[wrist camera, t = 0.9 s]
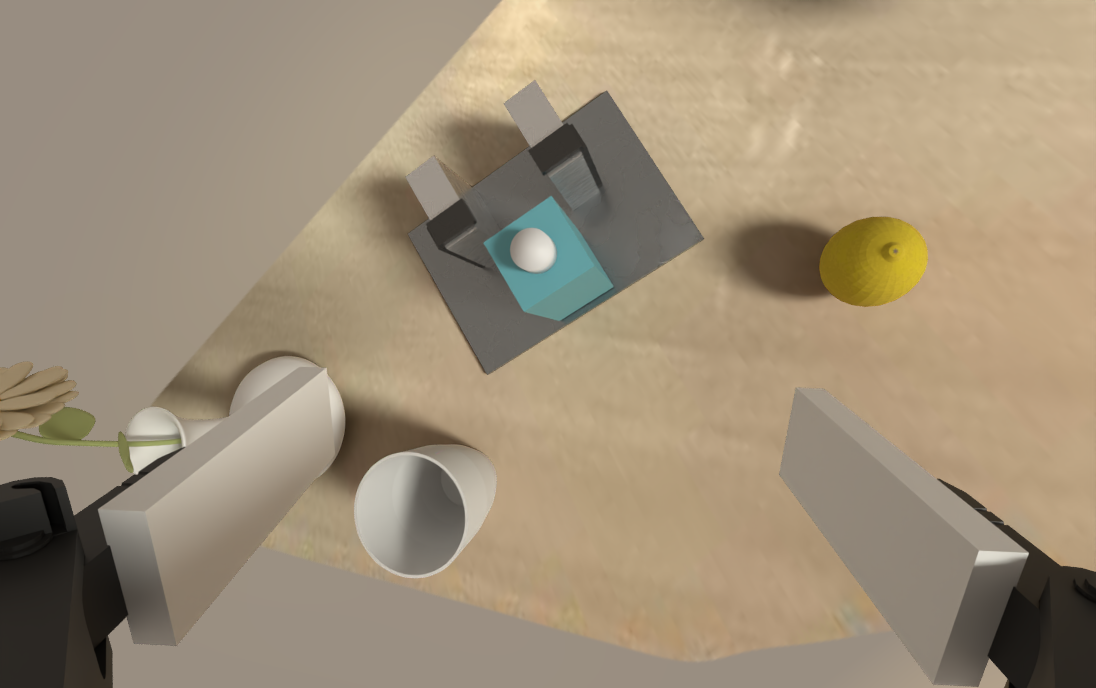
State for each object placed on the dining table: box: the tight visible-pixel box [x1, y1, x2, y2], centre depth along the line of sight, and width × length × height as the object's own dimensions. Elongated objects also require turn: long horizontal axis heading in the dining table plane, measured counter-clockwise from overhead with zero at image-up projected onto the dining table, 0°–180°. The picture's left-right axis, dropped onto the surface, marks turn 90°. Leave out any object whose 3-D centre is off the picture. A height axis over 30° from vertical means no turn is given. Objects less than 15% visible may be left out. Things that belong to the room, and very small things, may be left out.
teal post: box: [483, 196, 614, 321], centre depth 35 cm, size 5×5×12 cm
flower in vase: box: [0, 356, 345, 478], centre depth 35 cm, size 13×11×25 cm
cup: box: [354, 444, 497, 578], centre depth 38 cm, size 8×8×10 cm
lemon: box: [819, 217, 928, 307], centre depth 33 cm, size 6×6×8 cm
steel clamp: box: [406, 80, 704, 375], centre depth 38 cm, size 20×14×9 cm
